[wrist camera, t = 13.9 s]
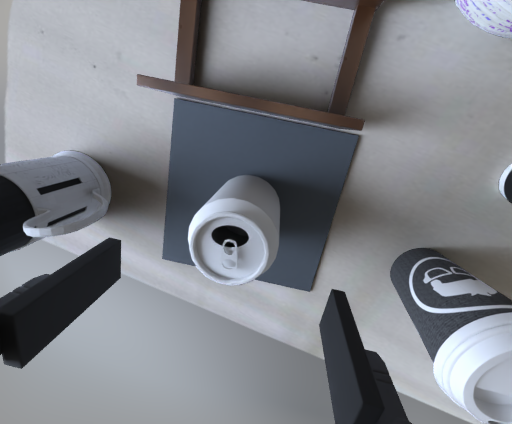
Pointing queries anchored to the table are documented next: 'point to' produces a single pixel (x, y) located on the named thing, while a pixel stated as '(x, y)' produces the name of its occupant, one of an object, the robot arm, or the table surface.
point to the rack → (364, 7)
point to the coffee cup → (460, 331)
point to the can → (236, 231)
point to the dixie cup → (506, 183)
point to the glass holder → (50, 198)
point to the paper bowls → (489, 15)
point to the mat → (265, 167)
